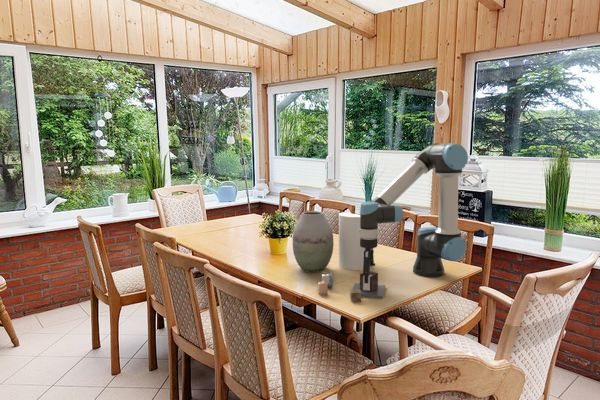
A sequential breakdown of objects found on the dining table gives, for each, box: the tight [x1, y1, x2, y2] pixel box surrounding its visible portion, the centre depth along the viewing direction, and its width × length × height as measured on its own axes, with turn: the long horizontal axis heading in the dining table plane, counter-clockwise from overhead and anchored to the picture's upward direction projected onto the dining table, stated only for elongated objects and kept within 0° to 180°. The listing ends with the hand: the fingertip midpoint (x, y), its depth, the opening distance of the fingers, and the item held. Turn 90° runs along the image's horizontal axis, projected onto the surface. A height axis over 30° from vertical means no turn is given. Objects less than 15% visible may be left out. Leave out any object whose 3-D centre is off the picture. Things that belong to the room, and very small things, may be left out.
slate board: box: [351, 282, 387, 300], centre depth 187 cm, size 14×14×1 cm
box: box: [359, 271, 379, 292], centre depth 186 cm, size 6×6×7 cm
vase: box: [292, 210, 335, 274], centre depth 219 cm, size 21×21×30 cm
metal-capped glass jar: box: [321, 272, 334, 290], centre depth 194 cm, size 5×5×6 cm
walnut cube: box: [349, 289, 362, 303], centre depth 177 cm, size 4×4×4 cm
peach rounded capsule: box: [317, 280, 328, 296], centre depth 185 cm, size 4×4×5 cm
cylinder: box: [338, 211, 365, 271], centre depth 225 cm, size 17×17×28 cm
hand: (368, 284), depth 186 cm, fingers open, 13 cm apart
